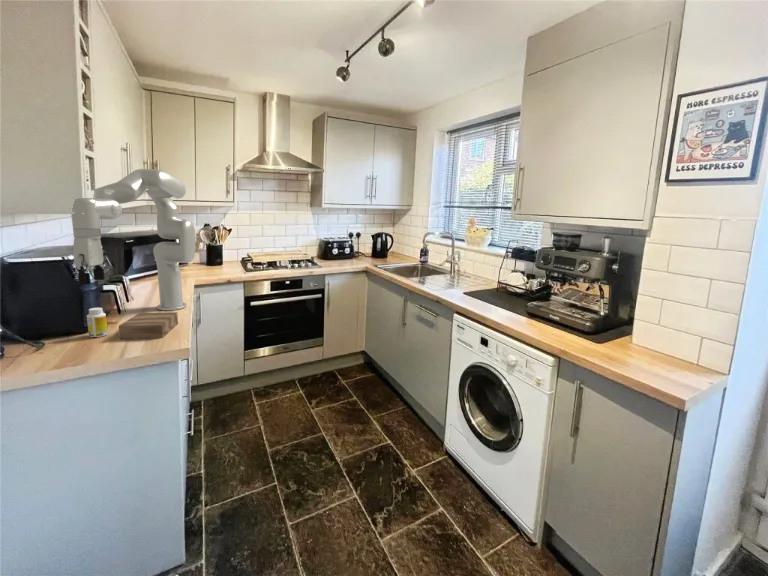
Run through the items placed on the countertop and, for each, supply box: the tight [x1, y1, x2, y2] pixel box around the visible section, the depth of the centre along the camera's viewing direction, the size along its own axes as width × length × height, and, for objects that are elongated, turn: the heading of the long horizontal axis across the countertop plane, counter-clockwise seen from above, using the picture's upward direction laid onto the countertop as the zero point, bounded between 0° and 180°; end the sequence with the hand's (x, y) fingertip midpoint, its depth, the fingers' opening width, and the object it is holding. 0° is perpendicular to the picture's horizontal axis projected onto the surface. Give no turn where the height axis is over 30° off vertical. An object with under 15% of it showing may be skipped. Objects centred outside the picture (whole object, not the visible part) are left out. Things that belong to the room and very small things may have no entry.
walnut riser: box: [118, 311, 179, 340], centre depth 144 cm, size 18×14×5 cm
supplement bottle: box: [86, 307, 109, 338], centre depth 136 cm, size 6×6×10 cm
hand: (92, 281), depth 133 cm, fingers open, 9 cm apart
